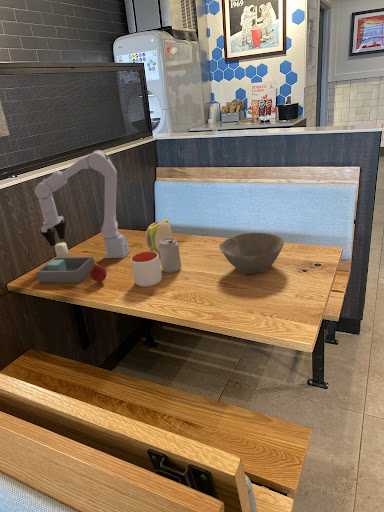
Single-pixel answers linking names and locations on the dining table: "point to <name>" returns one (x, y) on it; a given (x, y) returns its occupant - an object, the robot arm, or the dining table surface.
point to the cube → (57, 265)
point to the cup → (146, 268)
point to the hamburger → (157, 234)
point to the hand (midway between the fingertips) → (57, 242)
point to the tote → (75, 271)
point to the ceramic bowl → (252, 251)
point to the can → (169, 255)
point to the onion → (98, 273)
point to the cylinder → (61, 250)
